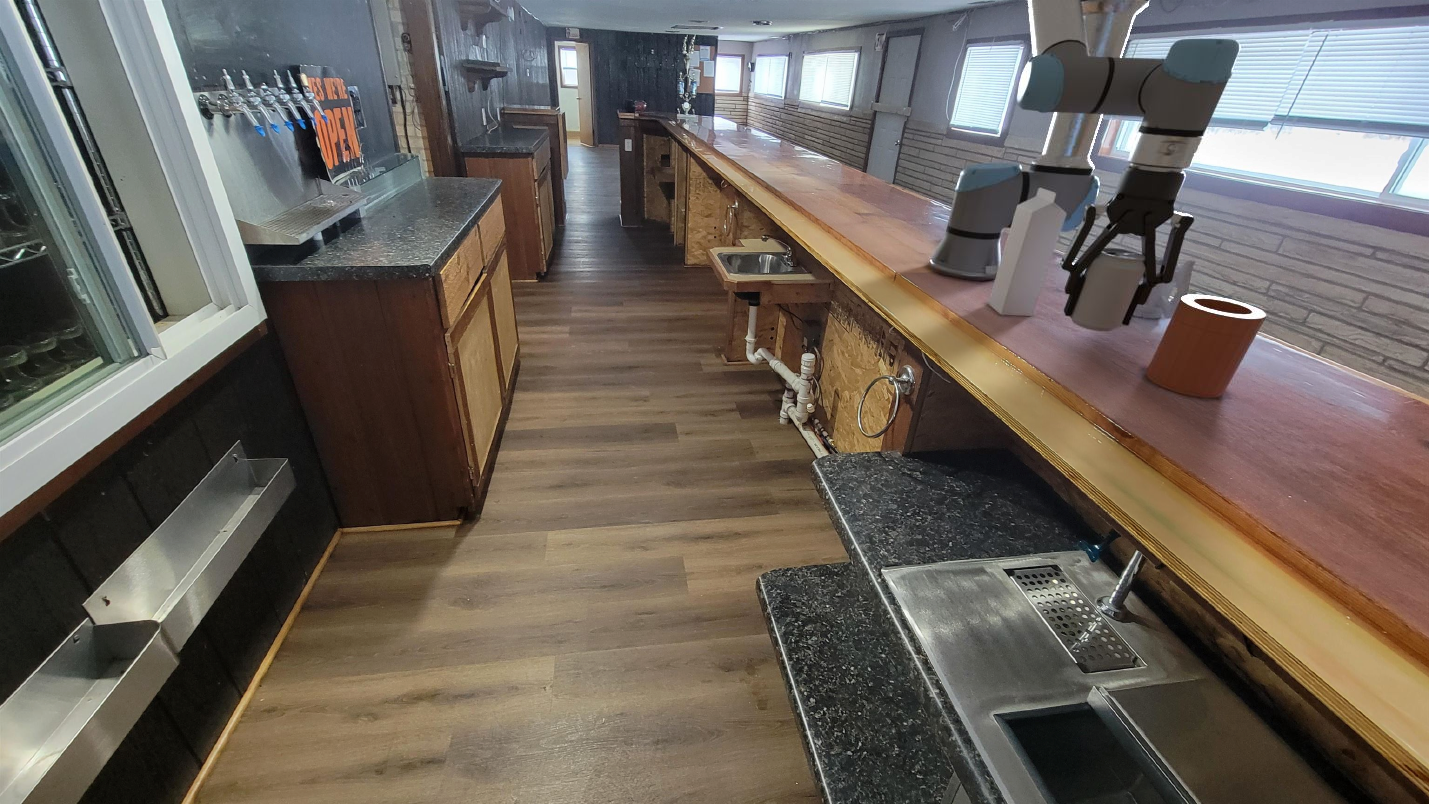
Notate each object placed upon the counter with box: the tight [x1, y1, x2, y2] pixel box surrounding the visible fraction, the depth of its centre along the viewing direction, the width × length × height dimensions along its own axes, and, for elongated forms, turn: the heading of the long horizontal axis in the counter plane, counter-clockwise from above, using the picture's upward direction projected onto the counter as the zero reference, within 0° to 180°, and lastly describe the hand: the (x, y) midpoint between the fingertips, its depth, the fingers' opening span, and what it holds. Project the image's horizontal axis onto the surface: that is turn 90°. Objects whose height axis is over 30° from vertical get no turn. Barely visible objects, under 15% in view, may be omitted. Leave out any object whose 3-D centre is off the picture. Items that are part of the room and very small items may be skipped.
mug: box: [1133, 258, 1196, 320], centre depth 106 cm, size 8×12×12 cm, turn 4°
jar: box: [1145, 294, 1267, 399], centre depth 81 cm, size 9×9×12 cm
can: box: [1069, 246, 1146, 332], centre depth 89 cm, size 8×8×12 cm
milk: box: [987, 188, 1067, 317], centre depth 103 cm, size 6×6×22 cm
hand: (1095, 317), depth 92 cm, fingers closed on can, 7 cm apart
